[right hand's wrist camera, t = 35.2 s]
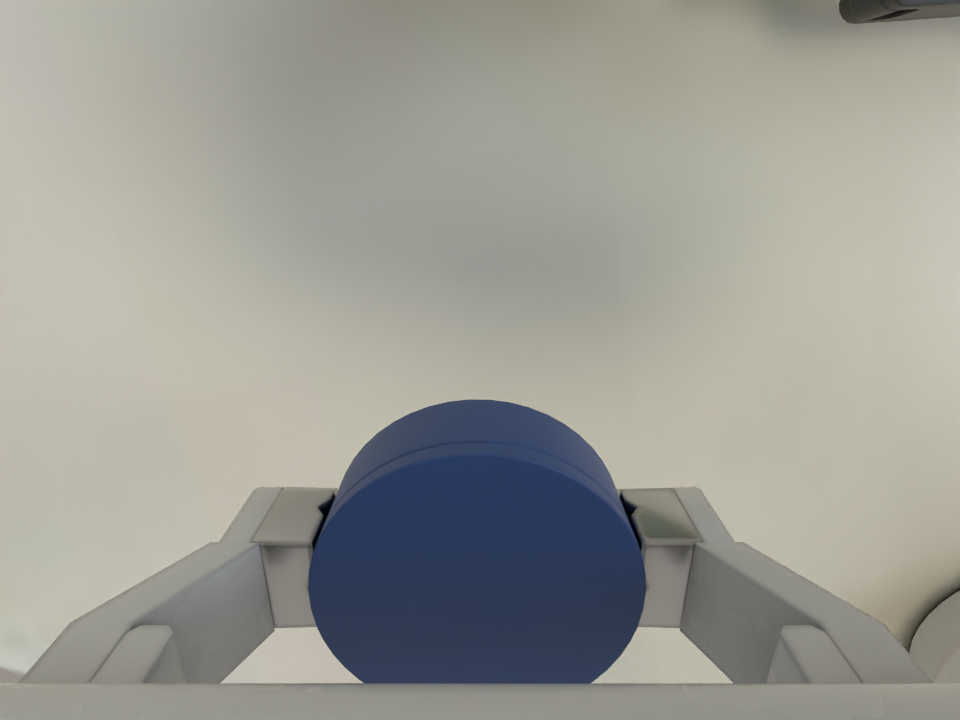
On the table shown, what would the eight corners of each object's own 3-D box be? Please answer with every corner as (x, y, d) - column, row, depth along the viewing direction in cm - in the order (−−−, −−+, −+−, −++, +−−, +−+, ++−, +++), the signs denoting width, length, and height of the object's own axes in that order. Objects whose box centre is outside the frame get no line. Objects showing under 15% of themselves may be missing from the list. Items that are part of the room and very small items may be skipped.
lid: (357, 636, 11) (334, 723, 10) (314, 405, 9) (278, 463, 8) (614, 626, 11) (638, 712, 9) (624, 390, 9) (657, 445, 8)
